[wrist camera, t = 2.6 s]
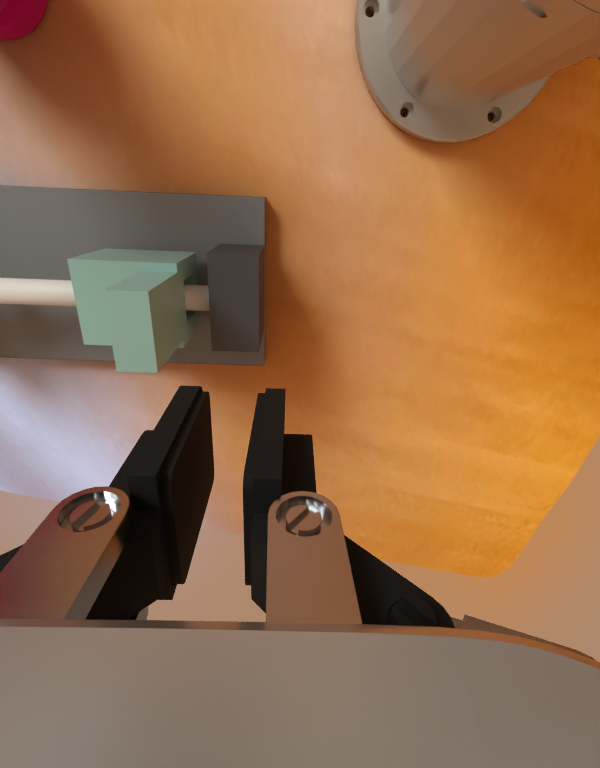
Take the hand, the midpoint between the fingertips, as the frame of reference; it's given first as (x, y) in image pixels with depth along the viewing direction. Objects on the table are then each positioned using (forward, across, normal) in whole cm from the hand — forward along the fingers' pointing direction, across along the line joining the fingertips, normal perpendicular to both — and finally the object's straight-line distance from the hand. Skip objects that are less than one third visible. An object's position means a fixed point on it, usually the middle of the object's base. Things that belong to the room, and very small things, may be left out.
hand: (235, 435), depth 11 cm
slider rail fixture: (+21, +13, 0) cm, 25 cm away
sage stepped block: (+19, +8, 0) cm, 20 cm away
